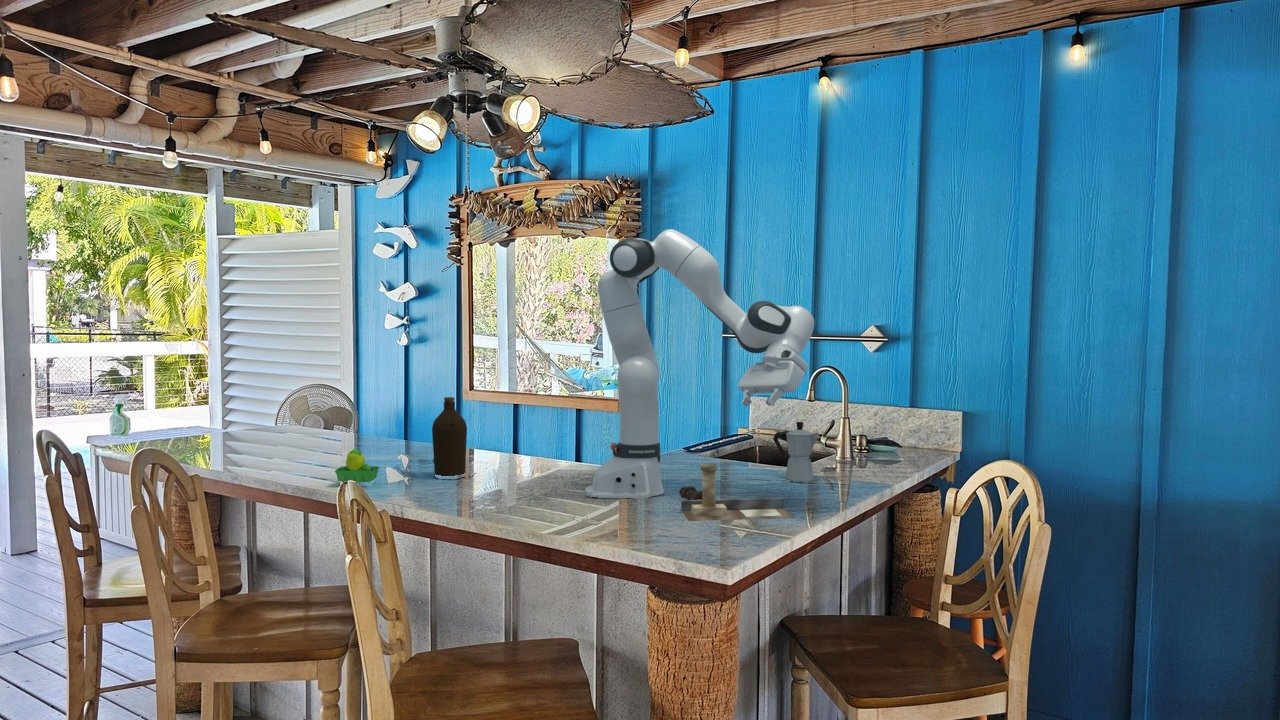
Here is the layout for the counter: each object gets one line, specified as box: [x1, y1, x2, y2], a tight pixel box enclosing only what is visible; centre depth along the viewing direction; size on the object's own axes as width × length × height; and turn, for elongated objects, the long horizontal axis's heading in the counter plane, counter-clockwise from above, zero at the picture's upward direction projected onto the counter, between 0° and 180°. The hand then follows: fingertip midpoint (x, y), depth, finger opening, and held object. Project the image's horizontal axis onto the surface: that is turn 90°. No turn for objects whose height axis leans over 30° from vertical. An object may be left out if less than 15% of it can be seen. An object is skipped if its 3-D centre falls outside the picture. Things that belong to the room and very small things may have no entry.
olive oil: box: [431, 396, 468, 476], centre depth 259 cm, size 11×11×25 cm
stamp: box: [691, 462, 727, 517], centre depth 203 cm, size 8×4×12 cm, turn 97°
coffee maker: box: [772, 421, 820, 483], centre depth 255 cm, size 15×9×18 cm, turn 59°
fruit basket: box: [334, 448, 380, 483], centre depth 246 cm, size 11×9×11 cm
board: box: [680, 497, 796, 522], centre depth 204 cm, size 26×12×4 cm, turn 97°
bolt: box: [678, 486, 702, 500], centre depth 221 cm, size 6×5×15 cm
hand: (757, 404), depth 214 cm, fingers open, 8 cm apart
